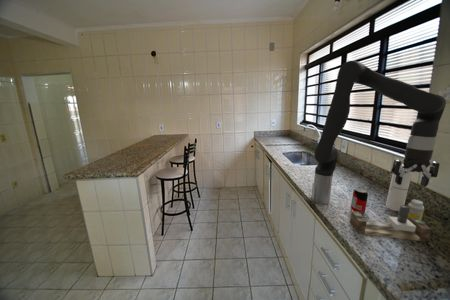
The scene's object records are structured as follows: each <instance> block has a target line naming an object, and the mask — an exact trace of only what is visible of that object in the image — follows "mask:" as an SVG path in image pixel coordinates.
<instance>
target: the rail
mask: <svg viewBox="0 0 450 300" xmlns="http://www.w3.org/2000/svg"><path fill="white" fill-rule="evenodd" d="M409 221H410V222H411V223H413V224H414V225H415V226H416V229H415V232H412V231H404V230H396V229H394V228H393V227H392V226H391V224H390V223H389V222H388V223H387V222H379V221H377V222H376V221H372V220H371V221H368V220H366V218H364V216H363V214H362V213H359V212H357V211H353V210H351V214H350V219H349V223H350V225H351V226H352V227H353V229H354V231H355V232H356V233H358V234H365V235H371V236H372V235H373V236H380V237H386V238H387V237H388V238H396V239H401V240H402V239H403V240H411V241H418V242H419V241H420V242H427V243H428V241H429V240H430V239H429V238H430V236H431V232H432V228H431V227H429V226H428V225H427V224H426V223H425V222H424V221H422V219H421V220H419V219H418V218H414V217H409Z"/></svg>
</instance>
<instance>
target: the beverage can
mask: <svg viewBox="0 0 450 300" xmlns="http://www.w3.org/2000/svg"><path fill="white" fill-rule="evenodd" d="M368 198H369V194H368V190H367V189H365V188H361V187H356V188H355V189H354V190H353V192H352V198H351V203H350V209H351V211H357V212H359V213H360V214H363V213H365V212H366V207H367V204H368V203H367V202H368Z"/></svg>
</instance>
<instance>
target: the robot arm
mask: <svg viewBox="0 0 450 300" xmlns="http://www.w3.org/2000/svg"><path fill="white" fill-rule="evenodd" d="M337 72H338V73H337V77H336V82H335V83H336V84H335V88H334V92H333V96H332V98H331V102H330V105H329V109H328V111H327V115H326V118H325V121H324V124H323V129H322V132H321V136H320V138H319V140H318V143H317V145H316V148H315V151H314V154H313V155H314V158H315V161H316V162H317V163H318V164H317V165H316V166H315V168H314V169H315V170H314V178H313V183H312V185H311V186H312V188H311V196H310V197H311V199H312V203H316V204H319V205H328V204H330V200H331V194H332V193H331V192H332V185H333V178H334V172H335V170H336V167H337V162H338V154H339V153H338V150H337V148H336V147H335V146H334V145H335V142H336V140H337V138H338V137H339V135H340V133H341V132H342V131H343V130H344V128H345V125H346V123H347V121H348V118H349V115H350V110H351V93H352V90H353V87H354V86H355V84H357V85H361V86H365V87H368V88H370V89H372V90H374V91H376V92H378V93H379V94H380V95H382V96H384V97H385V98H386V97H387V98H388V99H391V100H393V101H395V102H398V103H400V104H403V105H404V106H407V108H409V109H412V110H413V111H416V112H417V114H416V119H415V120H414V122H413V123H412V127H411V129H410V134H409V137H408V139H407V142H406V143H407V144H406V146H405V147H406V148H405V151H404V152H405V153H404V159H403V160H399V159H394V161H393V164H392V167H391V171H390V172H391V174H395V175H396V178H395V182H396V183H397V184H398V185H401V183H402V179H403V177H402V176H403V175H405V174H406V173H409V172H410V171H411V172H412V173H415V172H416V173H421V174H422V176H421V180H420V184H419V185H420V186H421V187H427V186H429V183H430V179H431V178H437V177H438V175H439V169H440V163H439V162H438V161H433V160H432V157H433V153H434V150H435V146H436V141H437V140H436V139H437V133H438V130H439V124H440V121H441V119H442V117H443V114H444V111H445V108H446V104H447V101H446V99H445V96H443V95H441V94H435V93H432V92H428V91H426V90H423V89H420V88H418V87H416V86H415V85H413V84H410V83H408V82H405V81H402V80H399V79H396V78H393V77H389V76H387V75H384V74H382V73H379V72H376V71H374V70H373V69H371V68H369V67H368V66H367V65H365V64H364V63H362V62H360V61H357V60H356V61H355V60H349V61H346V62H344V63H343V64H342V65H341V67H340V68H339V69H338V71H337ZM431 160H432V161H431ZM402 164H403V165H404V166H402ZM400 166H402V167H401V168H400ZM428 167H429V169H428ZM399 169H400V170H399ZM405 169H406V170H405Z"/></svg>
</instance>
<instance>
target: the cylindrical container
mask: <svg viewBox="0 0 450 300" xmlns="http://www.w3.org/2000/svg"><path fill="white" fill-rule="evenodd" d="M402 166H404V165H403V164H402ZM402 166H400V168H401V167H402ZM399 170H400V169H399ZM405 170H406V169H405ZM391 174H392V175H391V180H390V184H389V189H388V193H387V198H386V203H385V208H387V209H389V210H391V211H395V212H399V210H400V206H401V205H405V203H406V199H407V196H408V191H409V187H410V182H411V180H412V174H413V172H411V171H410V172H409V173H406V174H405V175H403V176H402V177H403V179H402V183H401V185H398V184H397V183H396V182H395V178H396V175H395V174H393V173H391Z"/></svg>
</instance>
